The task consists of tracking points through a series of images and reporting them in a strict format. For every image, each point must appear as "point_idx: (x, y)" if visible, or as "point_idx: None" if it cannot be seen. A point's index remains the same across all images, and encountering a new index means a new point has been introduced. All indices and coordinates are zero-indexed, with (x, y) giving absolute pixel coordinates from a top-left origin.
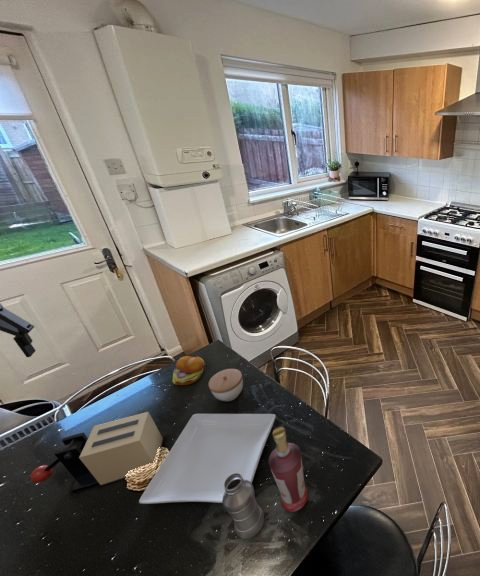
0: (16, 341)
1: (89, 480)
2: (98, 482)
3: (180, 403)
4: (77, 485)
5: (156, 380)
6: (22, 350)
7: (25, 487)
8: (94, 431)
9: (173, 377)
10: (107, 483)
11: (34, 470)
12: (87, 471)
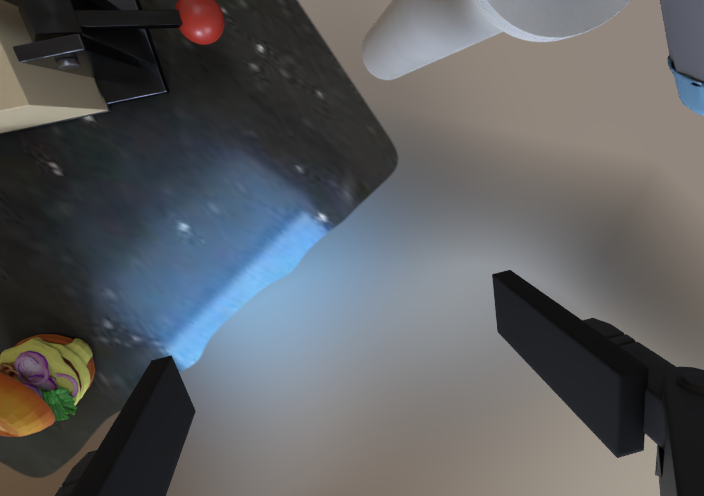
0: (93, 483)
1: None
2: None
3: (18, 267)
4: (123, 3)
5: None
6: (146, 399)
7: (284, 42)
8: (1, 73)
9: (71, 359)
10: None
11: (204, 12)
12: None
